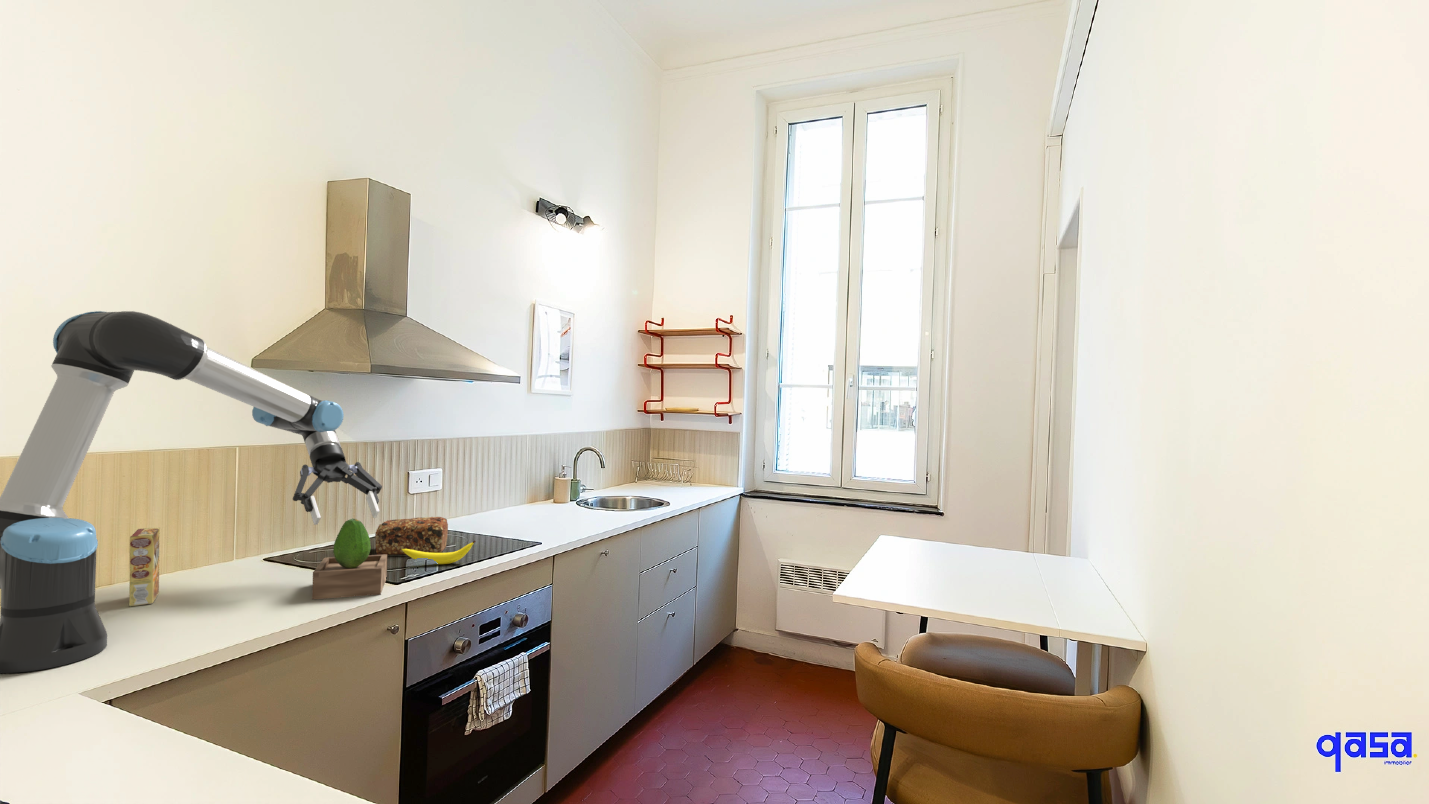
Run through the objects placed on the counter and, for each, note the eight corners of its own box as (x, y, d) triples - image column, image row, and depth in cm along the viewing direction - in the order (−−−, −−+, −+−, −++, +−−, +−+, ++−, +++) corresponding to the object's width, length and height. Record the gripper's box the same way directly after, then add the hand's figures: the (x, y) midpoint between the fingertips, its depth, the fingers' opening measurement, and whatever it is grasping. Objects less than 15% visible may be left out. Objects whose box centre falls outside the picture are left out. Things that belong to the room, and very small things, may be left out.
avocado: (345, 573, 153) (346, 522, 153) (326, 568, 157) (327, 518, 157) (377, 566, 160) (378, 517, 160) (358, 561, 164) (359, 514, 164)
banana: (401, 565, 180) (402, 542, 180) (474, 561, 187) (475, 539, 187) (400, 568, 178) (401, 545, 178) (475, 564, 184) (475, 541, 184)
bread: (448, 546, 204) (449, 514, 204) (441, 554, 194) (442, 521, 194) (383, 547, 200) (384, 515, 200) (373, 556, 190) (374, 521, 190)
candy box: (153, 604, 143) (154, 534, 143) (127, 607, 141) (129, 536, 141) (159, 593, 151) (161, 526, 150) (135, 596, 148) (136, 528, 148)
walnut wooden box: (380, 594, 155) (381, 568, 155) (312, 599, 150) (312, 572, 150) (386, 578, 168) (387, 554, 168) (323, 582, 163) (324, 557, 163)
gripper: (370, 458, 182) (393, 520, 173) (266, 463, 163) (286, 533, 153) (379, 441, 179) (403, 503, 169) (274, 444, 159) (295, 514, 150)
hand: (347, 517), depth 161 cm, fingers open, 13 cm apart
